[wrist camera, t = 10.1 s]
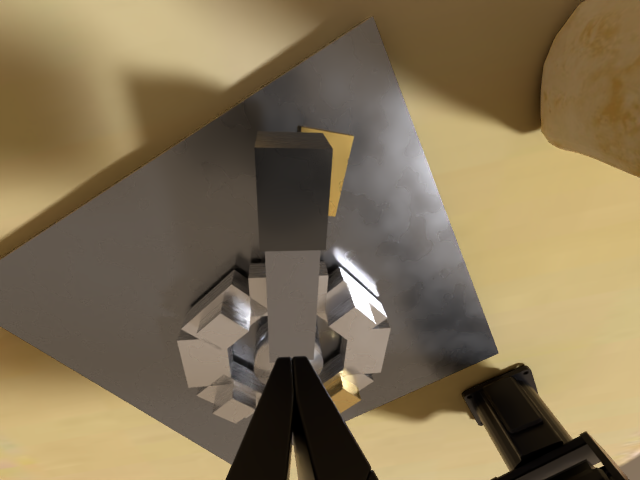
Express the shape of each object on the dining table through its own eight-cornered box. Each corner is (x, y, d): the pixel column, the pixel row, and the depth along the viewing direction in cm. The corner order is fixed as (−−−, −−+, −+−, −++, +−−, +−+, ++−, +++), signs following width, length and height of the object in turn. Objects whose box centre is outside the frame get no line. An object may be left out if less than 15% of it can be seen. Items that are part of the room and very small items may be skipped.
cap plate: (491, 343, 27) (517, 378, 24) (239, 457, 31) (236, 499, 28) (367, 18, 14) (391, 8, 11) (-38, 283, 18) (-98, 327, 15)
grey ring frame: (368, 393, 26) (386, 458, 22) (201, 407, 24) (186, 481, 20) (422, 125, 16) (478, 152, 11) (136, 116, 14) (76, 143, 10)
